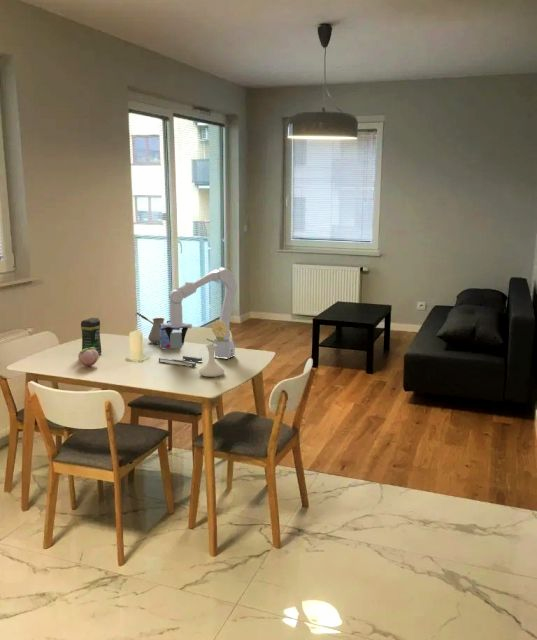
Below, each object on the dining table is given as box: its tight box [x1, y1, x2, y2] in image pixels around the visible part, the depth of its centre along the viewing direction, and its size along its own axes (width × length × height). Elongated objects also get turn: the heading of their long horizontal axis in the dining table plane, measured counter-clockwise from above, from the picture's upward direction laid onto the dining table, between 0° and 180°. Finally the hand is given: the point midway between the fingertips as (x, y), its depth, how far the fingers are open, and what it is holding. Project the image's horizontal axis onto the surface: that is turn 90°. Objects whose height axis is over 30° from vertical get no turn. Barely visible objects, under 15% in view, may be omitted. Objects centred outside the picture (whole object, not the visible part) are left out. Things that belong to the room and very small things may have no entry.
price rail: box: [158, 354, 203, 368], centre depth 294 cm, size 20×10×2 cm, turn 64°
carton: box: [170, 329, 185, 349], centre depth 296 cm, size 5×8×7 cm, turn 179°
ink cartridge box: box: [159, 320, 181, 349], centre depth 321 cm, size 10×6×14 cm, turn 115°
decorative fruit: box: [77, 347, 100, 368], centre depth 284 cm, size 9×8×10 cm
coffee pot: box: [134, 312, 166, 344], centre depth 333 cm, size 21×12×15 cm, turn 61°
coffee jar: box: [80, 317, 102, 355], centre depth 304 cm, size 10×8×19 cm
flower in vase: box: [198, 319, 228, 378], centre depth 272 cm, size 13×11×25 cm
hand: (177, 342), depth 297 cm, fingers closed on carton, 5 cm apart
